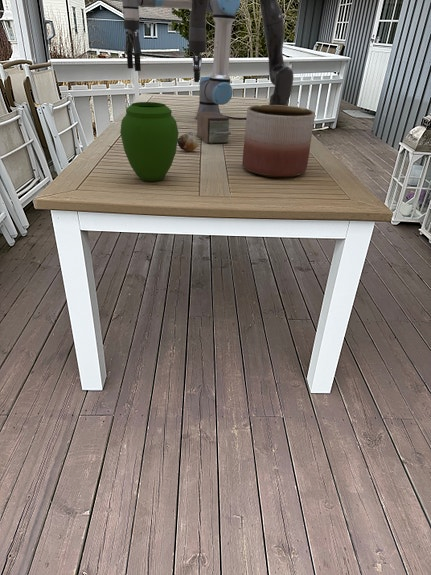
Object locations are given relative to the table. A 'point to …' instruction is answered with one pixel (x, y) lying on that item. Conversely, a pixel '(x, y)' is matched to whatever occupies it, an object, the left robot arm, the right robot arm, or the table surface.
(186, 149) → the seashell
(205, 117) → the long brown box
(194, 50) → the right robot arm
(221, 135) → the drawer
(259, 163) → the planter
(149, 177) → the vase
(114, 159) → the table surface
